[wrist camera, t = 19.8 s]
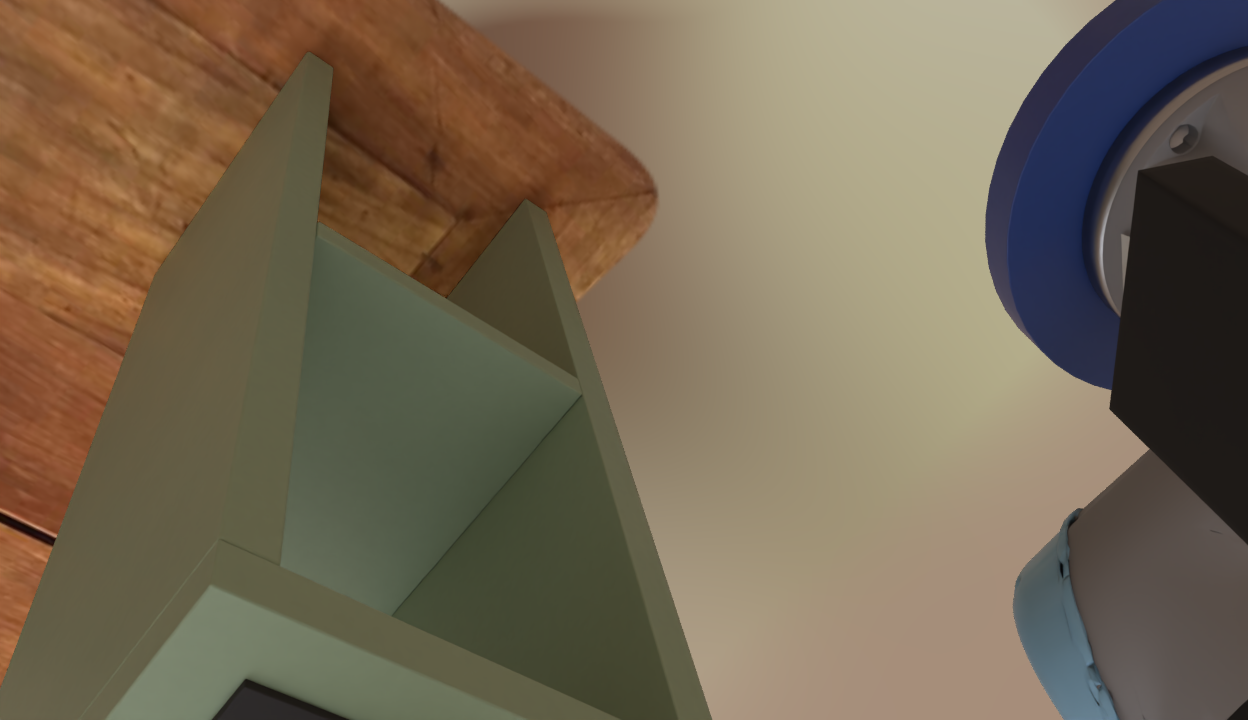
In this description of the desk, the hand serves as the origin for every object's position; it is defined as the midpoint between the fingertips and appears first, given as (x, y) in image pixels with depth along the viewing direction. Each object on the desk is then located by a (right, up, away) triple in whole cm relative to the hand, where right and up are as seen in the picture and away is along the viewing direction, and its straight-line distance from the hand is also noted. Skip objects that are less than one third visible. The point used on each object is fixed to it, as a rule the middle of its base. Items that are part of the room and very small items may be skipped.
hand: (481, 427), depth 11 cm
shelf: (-10, +6, +39) cm, 41 cm away
